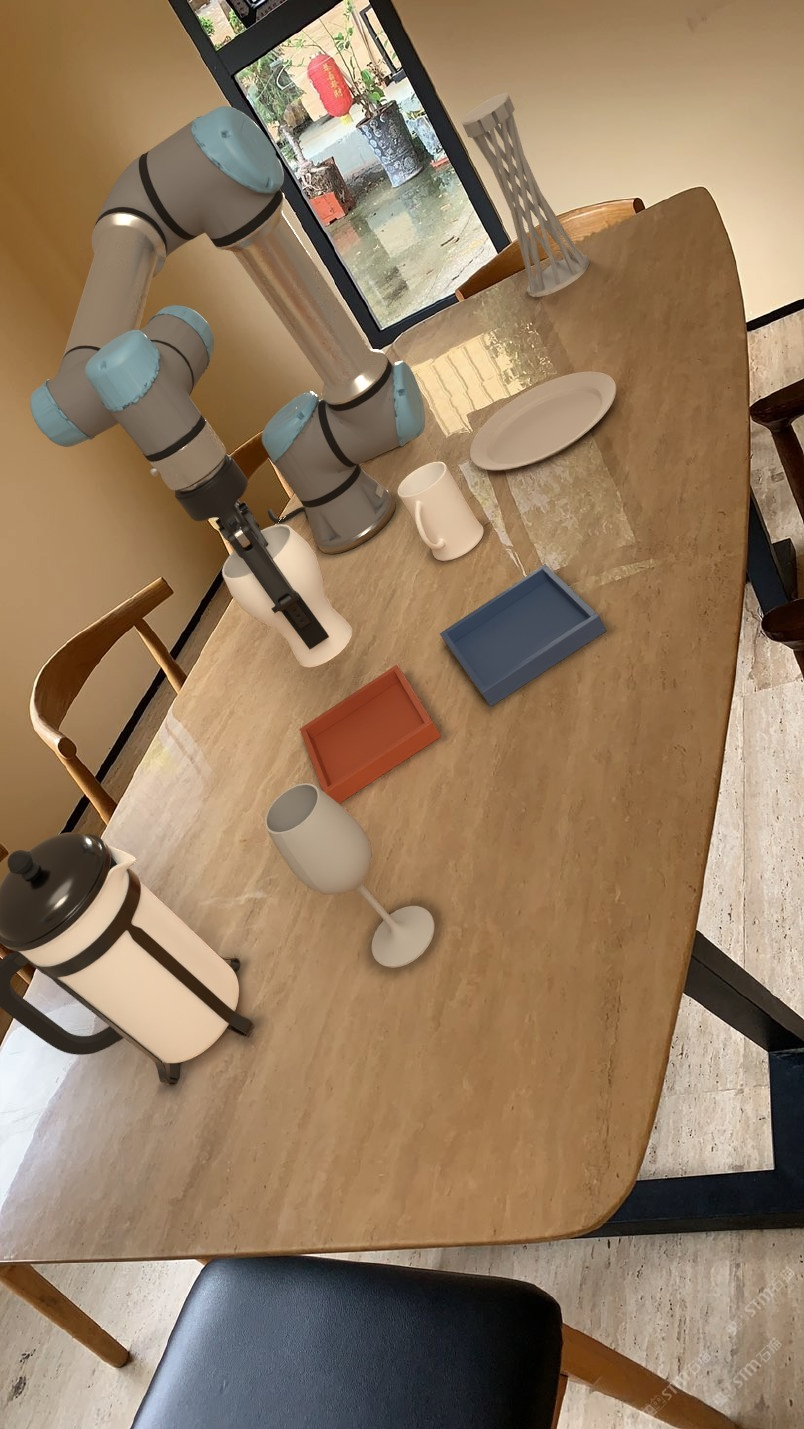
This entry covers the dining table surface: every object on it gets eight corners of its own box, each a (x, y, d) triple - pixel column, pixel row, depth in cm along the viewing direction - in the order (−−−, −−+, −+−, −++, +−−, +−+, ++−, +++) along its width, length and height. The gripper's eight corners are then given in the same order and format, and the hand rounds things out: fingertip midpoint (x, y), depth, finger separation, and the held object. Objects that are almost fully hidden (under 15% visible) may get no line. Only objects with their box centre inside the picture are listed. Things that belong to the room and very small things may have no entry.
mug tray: (448, 646, 139) (439, 633, 138) (552, 577, 138) (544, 563, 137) (490, 707, 125) (481, 693, 124) (606, 630, 124) (599, 615, 123)
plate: (646, 409, 157) (641, 397, 156) (500, 499, 160) (495, 489, 159) (585, 366, 178) (581, 356, 177) (458, 447, 181) (452, 437, 180)
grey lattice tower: (517, 301, 216) (439, 136, 197) (549, 265, 222) (477, 101, 202) (568, 290, 207) (492, 114, 187) (601, 253, 212) (530, 78, 192)
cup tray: (309, 741, 140) (299, 728, 138) (406, 677, 139) (397, 663, 138) (334, 806, 127) (323, 793, 126) (441, 736, 126) (431, 722, 125)
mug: (465, 570, 151) (427, 505, 144) (418, 579, 156) (378, 517, 149) (491, 519, 157) (455, 455, 151) (445, 529, 162) (408, 467, 156)
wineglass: (444, 903, 106) (338, 771, 95) (424, 969, 102) (310, 838, 90) (384, 906, 110) (275, 780, 99) (361, 969, 106) (244, 844, 94)
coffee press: (193, 950, 121) (16, 786, 104) (287, 974, 110) (106, 796, 94) (105, 1087, 112) (-104, 932, 95) (198, 1127, 102) (-19, 961, 85)
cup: (288, 640, 132) (220, 550, 124) (361, 603, 130) (296, 508, 121) (288, 689, 124) (214, 596, 115) (365, 650, 121) (296, 552, 113)
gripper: (162, 461, 122) (267, 600, 134) (182, 528, 103) (301, 683, 115) (215, 425, 122) (315, 568, 134) (245, 486, 102) (358, 646, 115)
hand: (309, 621), depth 124 cm, fingers closed on cup, 11 cm apart
